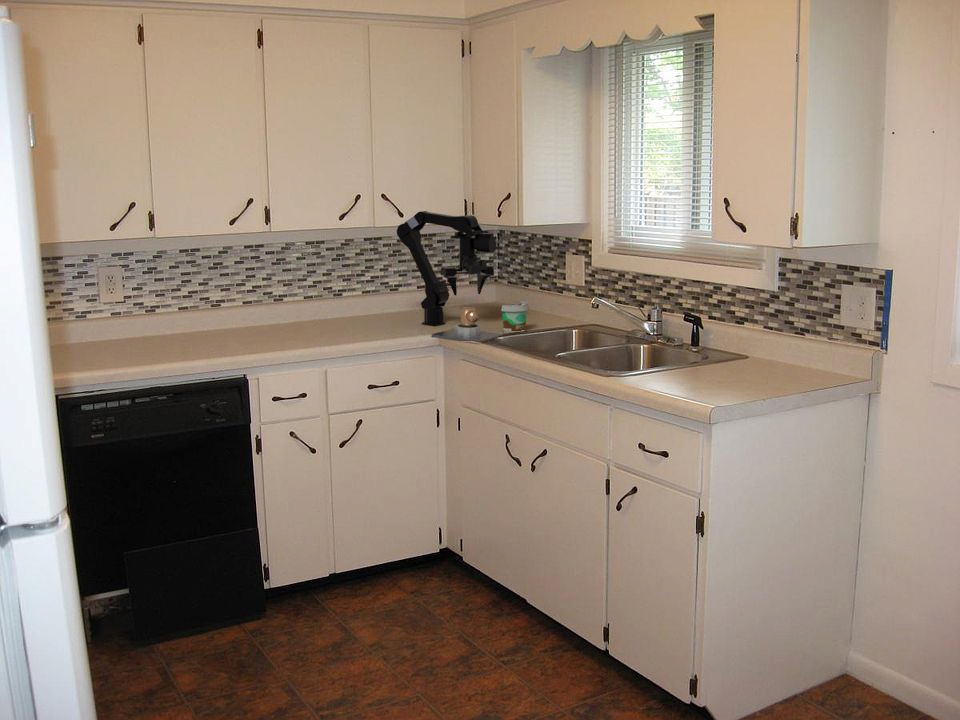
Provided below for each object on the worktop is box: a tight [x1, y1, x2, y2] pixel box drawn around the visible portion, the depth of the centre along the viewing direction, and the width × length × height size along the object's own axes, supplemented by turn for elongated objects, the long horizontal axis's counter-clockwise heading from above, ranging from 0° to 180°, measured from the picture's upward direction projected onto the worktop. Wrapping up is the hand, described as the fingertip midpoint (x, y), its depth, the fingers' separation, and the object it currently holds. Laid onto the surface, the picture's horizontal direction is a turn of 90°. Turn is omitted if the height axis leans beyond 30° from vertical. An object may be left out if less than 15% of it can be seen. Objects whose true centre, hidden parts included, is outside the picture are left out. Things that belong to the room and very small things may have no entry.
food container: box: [500, 301, 530, 332], centre depth 352 cm, size 12×6×10 cm, turn 143°
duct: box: [431, 323, 505, 342], centre depth 342 cm, size 20×15×4 cm
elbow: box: [460, 306, 480, 328], centre depth 340 cm, size 5×8×9 cm, turn 23°
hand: (467, 294), depth 357 cm, fingers open, 9 cm apart
